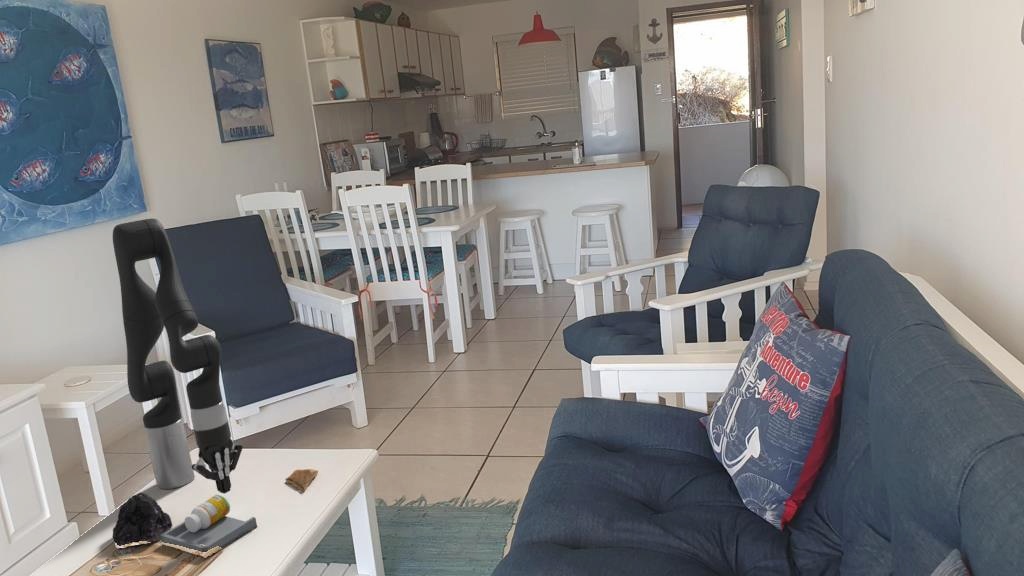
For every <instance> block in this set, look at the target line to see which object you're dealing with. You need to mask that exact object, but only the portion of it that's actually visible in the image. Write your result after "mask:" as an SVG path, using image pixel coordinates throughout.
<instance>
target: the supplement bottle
mask: <svg viewBox="0 0 1024 576" xmlns="http://www.w3.org/2000/svg"><path fill="white" fill-rule="evenodd" d="M230 511H231V504H230V502H229V499H227V498H226V497H225V495H223V494H221V493H220V494H219V493H217V494H215V495H214V496H212V497H210V498H209V499H207V500H205V501H203V503H200V504H199V505H197V506H196V507H194V508H193V509H192V511H191V513H190V514H189V515H187V516H186V517H185V518H184V521H183V522H184V523H185V526H186V528H187V529H188V530H189V531H191V532H196V531H198V530H199V529H206V528H208V527H209V526H211V525H212V524H214V523H215V522H217V521H218V520H219V519H221V518H222V517H224V516H227V515H228V514H229V513H230Z"/></svg>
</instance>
